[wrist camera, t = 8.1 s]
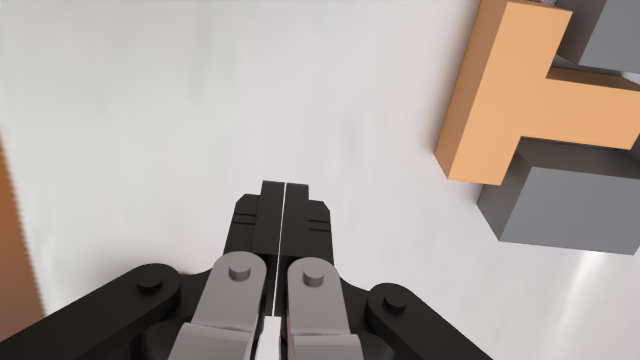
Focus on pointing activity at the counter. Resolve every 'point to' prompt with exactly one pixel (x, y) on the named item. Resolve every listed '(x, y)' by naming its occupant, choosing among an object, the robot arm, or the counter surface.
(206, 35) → the counter surface
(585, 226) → the dock
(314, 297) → the robot arm
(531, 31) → the t block
